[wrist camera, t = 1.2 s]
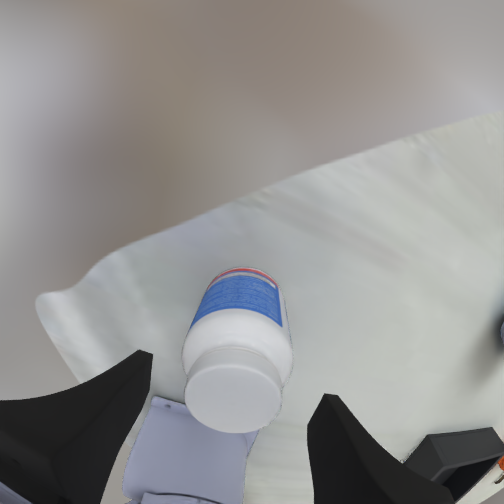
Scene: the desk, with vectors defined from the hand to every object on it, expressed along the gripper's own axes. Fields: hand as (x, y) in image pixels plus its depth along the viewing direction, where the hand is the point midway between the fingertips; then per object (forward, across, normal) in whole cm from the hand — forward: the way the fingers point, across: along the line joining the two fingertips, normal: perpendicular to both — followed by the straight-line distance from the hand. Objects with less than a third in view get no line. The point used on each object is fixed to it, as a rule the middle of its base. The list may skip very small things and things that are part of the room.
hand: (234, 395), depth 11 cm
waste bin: (+9, -29, +17) cm, 35 cm away
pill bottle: (+10, 0, 0) cm, 10 cm away
